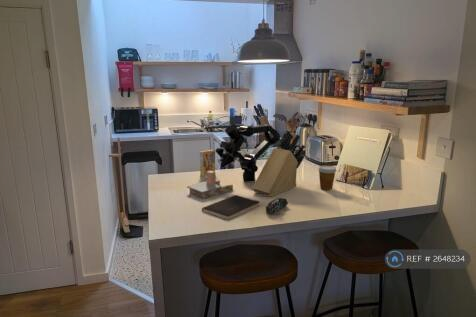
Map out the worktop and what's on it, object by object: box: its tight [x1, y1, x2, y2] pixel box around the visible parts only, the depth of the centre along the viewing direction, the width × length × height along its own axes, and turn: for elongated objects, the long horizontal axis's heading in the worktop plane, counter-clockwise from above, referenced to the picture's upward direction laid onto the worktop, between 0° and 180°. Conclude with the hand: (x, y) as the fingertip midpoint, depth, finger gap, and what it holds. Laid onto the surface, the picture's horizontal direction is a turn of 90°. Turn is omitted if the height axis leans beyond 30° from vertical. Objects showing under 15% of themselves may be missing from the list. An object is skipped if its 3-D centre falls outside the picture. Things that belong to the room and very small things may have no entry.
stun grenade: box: [265, 197, 288, 216], centre depth 159 cm, size 6×6×14 cm
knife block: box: [251, 129, 306, 197], centre depth 188 cm, size 11×35×31 cm, turn 138°
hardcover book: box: [201, 194, 261, 220], centre depth 162 cm, size 16×23×2 cm
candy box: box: [199, 149, 216, 177], centre depth 217 cm, size 9×4×15 cm, turn 129°
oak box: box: [189, 179, 234, 199], centre depth 186 cm, size 20×12×3 cm, turn 134°
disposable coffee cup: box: [317, 165, 337, 191], centre depth 189 cm, size 10×10×12 cm
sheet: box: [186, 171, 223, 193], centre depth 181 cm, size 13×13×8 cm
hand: (221, 167), depth 188 cm, fingers closed
